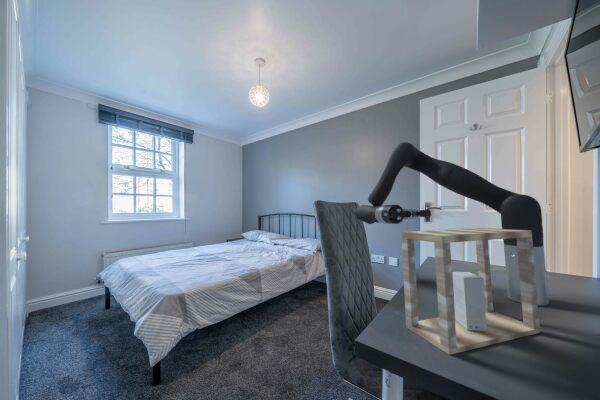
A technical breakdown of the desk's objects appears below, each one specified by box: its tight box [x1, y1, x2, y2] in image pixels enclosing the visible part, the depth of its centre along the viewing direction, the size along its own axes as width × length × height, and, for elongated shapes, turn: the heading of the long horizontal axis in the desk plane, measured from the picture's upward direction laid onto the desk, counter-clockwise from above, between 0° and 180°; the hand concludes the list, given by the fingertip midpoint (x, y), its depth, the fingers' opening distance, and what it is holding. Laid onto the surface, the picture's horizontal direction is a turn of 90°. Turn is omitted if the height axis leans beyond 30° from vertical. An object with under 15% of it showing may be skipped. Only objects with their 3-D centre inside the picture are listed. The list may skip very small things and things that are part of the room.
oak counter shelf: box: [400, 227, 541, 356], centre depth 57 cm, size 27×12×24 cm, turn 106°
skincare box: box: [452, 271, 487, 331], centre depth 57 cm, size 6×4×12 cm
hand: (419, 213), depth 79 cm, fingers open, 8 cm apart
